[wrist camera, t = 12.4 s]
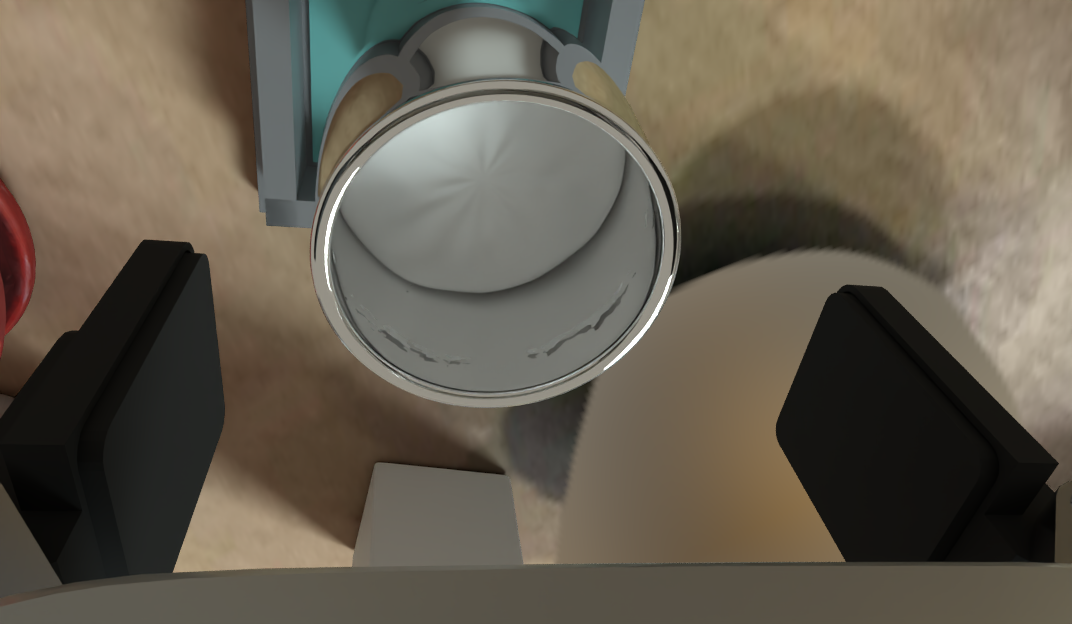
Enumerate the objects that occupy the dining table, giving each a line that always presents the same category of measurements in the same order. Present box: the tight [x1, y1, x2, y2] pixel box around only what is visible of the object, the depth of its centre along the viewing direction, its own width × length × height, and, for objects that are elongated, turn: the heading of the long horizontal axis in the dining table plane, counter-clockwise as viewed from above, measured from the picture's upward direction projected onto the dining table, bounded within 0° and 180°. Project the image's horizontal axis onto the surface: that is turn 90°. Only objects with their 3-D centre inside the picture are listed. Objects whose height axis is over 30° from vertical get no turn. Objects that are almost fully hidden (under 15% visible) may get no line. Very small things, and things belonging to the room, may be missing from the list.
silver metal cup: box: [310, 0, 681, 408], centre depth 19 cm, size 7×7×15 cm
